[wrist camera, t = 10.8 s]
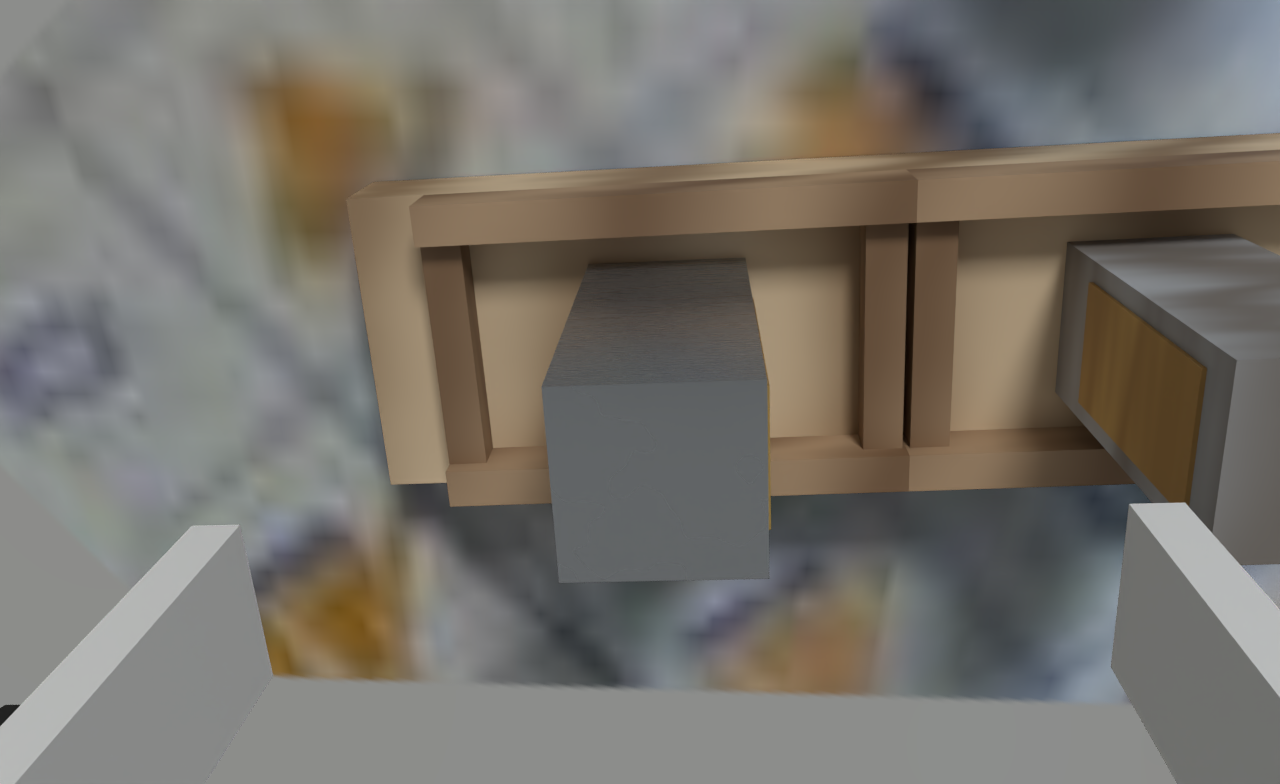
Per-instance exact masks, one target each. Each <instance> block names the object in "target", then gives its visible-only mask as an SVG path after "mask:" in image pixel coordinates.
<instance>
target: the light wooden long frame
mask: <svg viewBox="0 0 1280 784" xmlns="http://www.w3.org/2000/svg"><path fill="white" fill-rule="evenodd" d="M346 202H347V208H348V215H349V221H350V227H351V234H352V240H353V246H354V253H355V259H356V266H357V272H358V278H359V285H360V291H361V297H362V304H363V310H364V316H365V323H366V329H367V335H368V342H369V348H370V354H371V361H372V367H373V373H374V380H375V386H376V392H377V399H378V405H379V412H380V418H381V424H382V431H383V437H384V443H385V450H386V456H387V462H388V469H389V475H390V481H391V485H394V484H423V483H447V488H448V495H449V502H450V507H454V506H485V505H515V504H545V503H552V500H551V489H550V478H549V466H548V455H547V444H546V433H545V422H544V411H543V400H542V388H541V387H542V384H543V381H544V379H545V376H546V374H547V371H548V368H549V366H550V363H551V360H552V358H553V355H554V353H555V350H556V347H557V345H558V342H559V340H560V337H561V334H562V332H563V329H564V326H565V324H566V321H567V319H568V316H569V313H570V311H571V308H572V305H573V303H574V300H575V298H576V295H577V292H578V290H579V287H580V285H581V282H582V279H583V277H584V274H585V271H586V269H587V266H588V264H593V263H619V262H645V261H670V260H696V259H722V258H745V259H746V264H747V270H748V275H749V281H750V287H751V292H752V298H754V304H755V309H756V315H757V320H758V326H759V331H760V337H761V342H762V348H763V353H764V358H765V364H766V369H767V375H768V380H769V386H770V479H771V496H785V495H815V494H845V493H875V492H905V491H935V490H965V489H995V488H1026V487H1056V486H1086V485H1116V484H1136V485H1137V486H1138V487H1139V488H1140V489H1141V490H1142V492H1143V493H1144V494H1145V495H1146V496H1147V497H1148V498H1149V500H1150V501H1151V502H1152V503H1186V504H1187V505H1188V507H1189V508H1190V509H1191V510H1192V511H1193V512H1194V513H1195V514H1196V516H1197V517H1198V518H1199V519H1200V520H1201V521H1202V522H1203V523H1204V525H1205V526H1206V527H1207V528H1208V529H1209V530H1210V531H1211V532H1212V534H1213V535H1214V536H1215V537H1216V538H1217V539H1218V540H1219V541H1220V543H1221V544H1222V545H1223V546H1224V547H1225V548H1226V549H1227V551H1228V552H1229V553H1230V554H1231V555H1232V556H1233V557H1234V558H1235V560H1236V561H1237V562H1238V563H1239V564H1240V565H1262V564H1280V133H1273V134H1255V135H1236V136H1217V137H1199V138H1180V139H1162V140H1143V141H1125V142H1106V143H1088V144H1069V145H1051V146H1032V147H1014V148H995V149H977V150H958V151H940V152H921V153H903V154H884V155H866V156H847V157H829V158H810V159H792V160H773V161H754V162H736V163H717V164H699V165H680V166H662V167H643V168H625V169H606V170H588V171H569V172H551V173H532V174H514V175H495V176H477V177H458V178H440V179H421V180H403V181H384V182H373V183H371V184H370V185H368V186H366V187H365V188H363V189H362V190H360V191H358V192H357V193H355V194H354V195H352V196H350V197H349V198H347V199H346Z"/></svg>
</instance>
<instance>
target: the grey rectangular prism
mask: <svg viewBox="0 0 1280 784" xmlns="http://www.w3.org/2000/svg"><path fill="white" fill-rule="evenodd" d="M541 388H542V400H543V411H544V422H545V433H546V444H547V455H548V466H549V478H550V489H551V500H552V511H553V522H554V533H555V544H556V556H557V567H558V578H559V583H580V582H630V581H680V580H730V579H769V530H771V479H770V386H769V380H768V375H767V369H766V364H765V358H764V353H763V348H762V342H761V337H760V331H759V326H758V320H757V315H756V309H755V304H754V298H752V292H751V287H750V281H749V275H748V270H747V264H746V259H745V258H722V259H696V260H670V261H645V262H619V263H593V264H588V266H587V269H586V271H585V274H584V277H583V279H582V282H581V285H580V287H579V290H578V292H577V295H576V298H575V300H574V303H573V305H572V308H571V311H570V313H569V316H568V319H567V321H566V324H565V326H564V329H563V332H562V334H561V337H560V340H559V342H558V345H557V347H556V350H555V353H554V355H553V358H552V360H551V363H550V366H549V368H548V371H547V374H546V376H545V379H544V381H543V384H542V387H541Z"/></svg>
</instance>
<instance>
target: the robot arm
mask: <svg viewBox="0 0 1280 784" xmlns="http://www.w3.org/2000/svg"><path fill="white" fill-rule="evenodd" d="M1111 668H1112V670H1113V672H1114V673H1115V675H1116V677H1117V679H1118V680H1119V682H1120V684H1121V686H1122V687H1123V689H1124V691H1125V693H1126V694H1127V696H1128V698H1129V700H1130V701H1131V703H1132V705H1133V707H1134V708H1135V710H1136V712H1137V714H1138V715H1139V717H1140V719H1141V721H1142V723H1143V724H1144V726H1145V728H1146V730H1147V731H1148V733H1149V735H1150V737H1151V738H1152V740H1153V742H1154V744H1155V745H1156V747H1157V749H1158V750H1159V752H1160V754H1161V756H1162V758H1163V759H1164V761H1165V763H1166V765H1167V766H1168V768H1169V770H1170V772H1171V774H1172V775H1173V777H1174V779H1175V781H1176V782H1177V784H1280V609H1279V608H1278V607H1277V606H1276V605H1275V604H1274V602H1273V601H1272V600H1271V599H1270V598H1269V597H1268V596H1267V595H1266V593H1265V592H1264V591H1263V590H1262V589H1261V588H1260V587H1259V585H1258V584H1257V583H1256V582H1255V581H1254V580H1253V579H1252V578H1251V576H1250V575H1249V574H1248V573H1247V572H1246V571H1245V570H1244V569H1243V567H1242V566H1241V565H1240V564H1239V563H1238V562H1237V561H1236V560H1235V558H1234V557H1233V556H1232V555H1231V554H1230V553H1229V552H1228V551H1227V549H1226V548H1225V547H1224V546H1223V545H1222V544H1221V543H1220V541H1219V540H1218V539H1217V538H1216V537H1215V536H1214V535H1213V534H1212V532H1211V531H1210V530H1209V529H1208V528H1207V527H1206V526H1205V525H1204V523H1203V522H1202V521H1201V520H1200V519H1199V518H1198V517H1197V516H1196V514H1195V513H1194V512H1193V511H1192V510H1191V509H1190V508H1189V507H1188V505H1187V504H1186V503H1143V504H1129V509H1128V518H1127V527H1126V536H1125V545H1124V554H1123V563H1122V572H1121V580H1120V589H1119V598H1118V607H1117V616H1116V625H1115V634H1114V643H1113V652H1112V661H1111ZM272 677H273V674H272V669H271V664H270V660H269V655H268V651H267V646H266V641H265V637H264V632H263V628H262V623H261V618H260V614H259V609H258V605H257V600H256V595H255V591H254V586H253V582H252V577H251V572H250V568H249V563H248V559H247V554H246V550H245V545H244V540H243V536H242V531H241V527H240V525H206V526H191V527H190V528H189V529H188V530H187V532H186V533H185V534H184V535H183V536H182V537H181V538H180V539H179V540H178V541H177V542H176V543H175V544H174V545H173V546H172V547H171V548H170V549H169V550H168V551H167V552H166V553H165V555H164V556H163V557H162V558H161V559H160V560H159V561H158V562H157V563H156V564H155V565H154V566H153V567H152V568H151V569H150V570H149V571H148V572H147V573H146V574H145V575H144V576H143V578H142V579H141V580H140V581H139V582H138V583H137V584H136V585H135V586H134V587H133V588H132V589H131V590H130V591H129V592H128V593H127V594H126V595H125V596H124V597H123V598H122V600H121V601H120V602H119V603H118V604H117V605H116V606H115V607H114V608H113V609H112V610H111V611H110V612H109V613H108V614H107V615H106V616H105V617H104V619H102V620H101V622H100V623H99V624H98V625H97V626H96V627H95V628H94V629H93V630H92V631H91V632H90V633H89V634H88V635H87V636H86V637H85V638H84V639H83V640H82V642H80V643H79V645H78V646H77V647H76V648H75V649H74V650H73V651H72V652H71V653H70V654H69V655H68V656H67V657H66V658H65V659H64V660H63V661H62V662H61V663H60V664H59V666H57V668H56V669H55V670H54V671H53V672H52V673H51V674H50V675H49V676H48V677H47V678H46V679H45V680H44V681H43V682H42V683H41V684H40V685H39V686H38V687H37V689H36V690H35V691H34V692H33V693H32V694H31V695H30V696H29V697H28V698H27V699H26V700H25V701H24V702H23V703H22V704H21V705H5V706H3V707H1V708H0V784H205V782H206V781H207V779H208V778H209V776H210V774H211V773H212V771H213V770H214V768H215V767H216V765H217V763H218V762H219V760H220V759H221V757H222V756H223V754H224V752H225V751H226V749H227V748H228V746H229V745H230V743H231V741H232V740H233V738H234V737H235V735H236V734H237V732H238V730H239V729H240V727H241V726H242V724H243V723H244V721H245V719H246V718H247V716H248V714H249V713H250V711H251V710H252V708H253V707H254V705H255V704H256V702H257V701H258V699H259V697H260V696H261V694H262V692H263V691H264V690H265V688H266V686H267V685H268V683H269V682H270V680H271V679H272Z"/></svg>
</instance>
